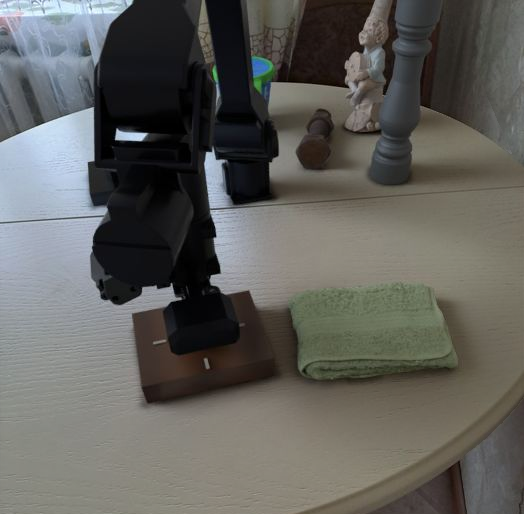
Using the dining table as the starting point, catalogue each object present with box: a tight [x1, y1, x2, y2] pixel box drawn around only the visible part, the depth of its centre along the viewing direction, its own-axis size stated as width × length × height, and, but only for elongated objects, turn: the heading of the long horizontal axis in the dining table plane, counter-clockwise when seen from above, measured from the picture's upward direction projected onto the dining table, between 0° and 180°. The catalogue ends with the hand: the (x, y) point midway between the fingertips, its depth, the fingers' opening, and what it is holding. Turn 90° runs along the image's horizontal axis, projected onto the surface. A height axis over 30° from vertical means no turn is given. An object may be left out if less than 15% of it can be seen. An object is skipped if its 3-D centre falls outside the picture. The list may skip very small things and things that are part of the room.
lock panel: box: [131, 289, 275, 404], centre depth 56 cm, size 14×11×3 cm
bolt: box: [295, 108, 335, 170], centre depth 86 cm, size 6×5×15 cm
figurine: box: [344, 0, 394, 133], centre depth 85 cm, size 9×8×20 cm
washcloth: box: [288, 282, 459, 381], centre depth 57 cm, size 13×18×3 cm
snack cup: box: [212, 55, 275, 106], centre depth 90 cm, size 16×10×10 cm
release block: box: [87, 160, 119, 207], centre depth 80 cm, size 12×10×4 cm
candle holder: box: [369, 0, 444, 186], centre depth 72 cm, size 6×6×25 cm
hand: (198, 331), depth 55 cm, fingers open, 4 cm apart
